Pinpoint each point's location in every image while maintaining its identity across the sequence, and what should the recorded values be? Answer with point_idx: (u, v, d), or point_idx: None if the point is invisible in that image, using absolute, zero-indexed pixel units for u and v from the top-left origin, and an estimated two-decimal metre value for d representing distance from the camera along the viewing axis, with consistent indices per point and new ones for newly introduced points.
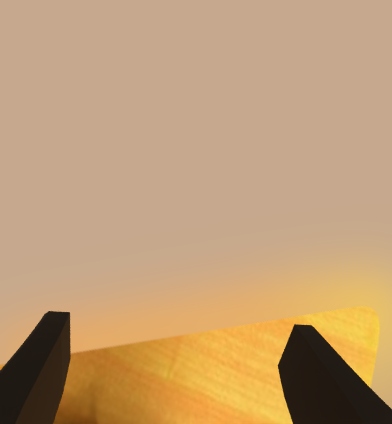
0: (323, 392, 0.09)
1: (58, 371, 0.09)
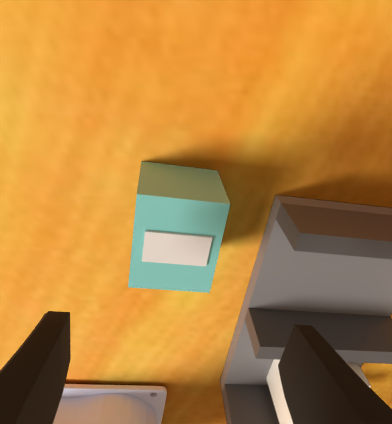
0: (323, 392, 0.09)
1: (58, 371, 0.09)
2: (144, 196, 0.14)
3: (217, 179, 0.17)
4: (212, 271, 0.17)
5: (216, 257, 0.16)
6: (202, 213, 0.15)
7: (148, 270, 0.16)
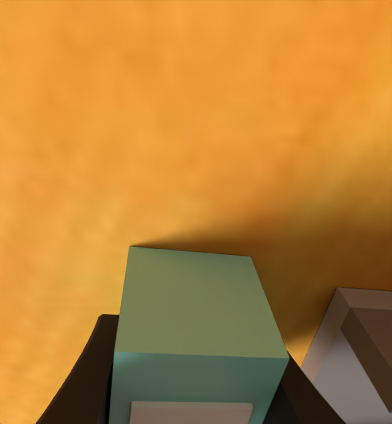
0: None
1: None
2: (129, 354, 0.07)
3: (255, 283, 0.10)
4: None
5: None
6: (236, 374, 0.08)
7: None
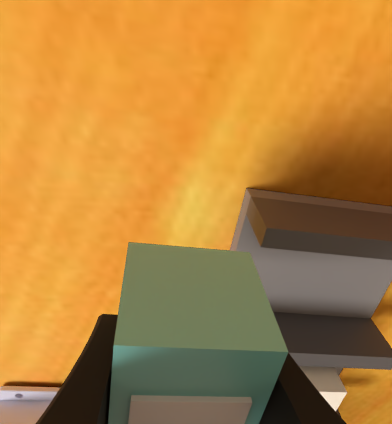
0: None
1: None
2: (128, 347, 0.08)
3: (254, 278, 0.10)
4: None
5: None
6: (235, 368, 0.08)
7: None
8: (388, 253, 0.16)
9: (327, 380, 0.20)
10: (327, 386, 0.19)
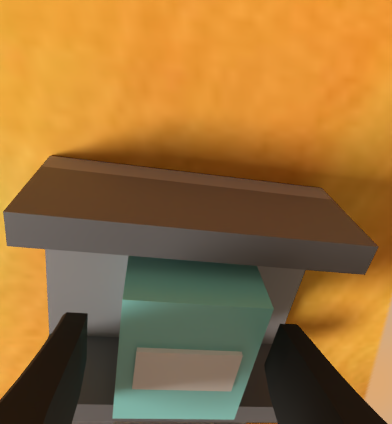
0: (306, 392, 0.09)
1: (77, 371, 0.09)
2: (135, 302, 0.09)
3: None
4: (239, 394, 0.11)
5: (247, 378, 0.11)
6: (228, 323, 0.09)
7: (142, 397, 0.11)
8: (240, 254, 0.10)
9: None
10: None
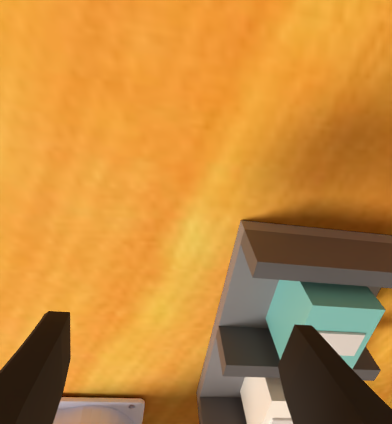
0: (323, 392, 0.09)
1: (58, 371, 0.09)
2: (318, 306, 0.17)
3: None
4: (356, 358, 0.19)
5: (363, 348, 0.19)
6: (360, 317, 0.18)
7: None
8: (366, 280, 0.18)
9: None
10: None
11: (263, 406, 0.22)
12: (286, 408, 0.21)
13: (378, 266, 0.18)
